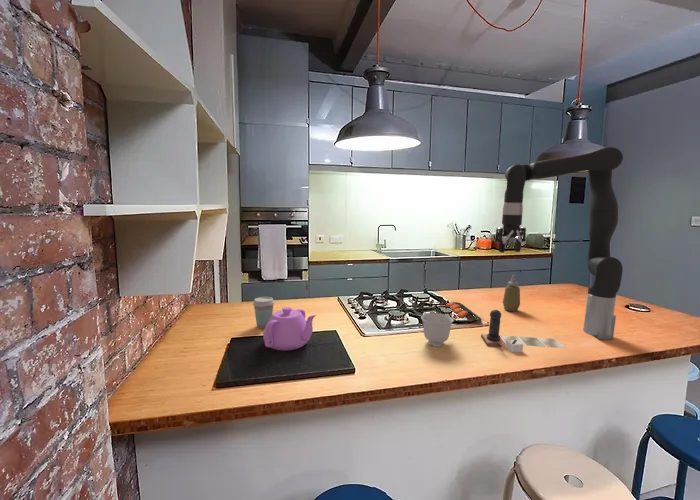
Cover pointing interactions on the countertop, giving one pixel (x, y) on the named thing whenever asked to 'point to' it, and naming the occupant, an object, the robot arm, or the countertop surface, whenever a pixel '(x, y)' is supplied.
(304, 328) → the teapot
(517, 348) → the die
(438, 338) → the teacup
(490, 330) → the pawn
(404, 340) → the countertop surface
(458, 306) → the sushi plate
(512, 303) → the squeeze bottle
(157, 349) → the countertop surface
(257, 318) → the coffee cup
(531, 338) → the board
